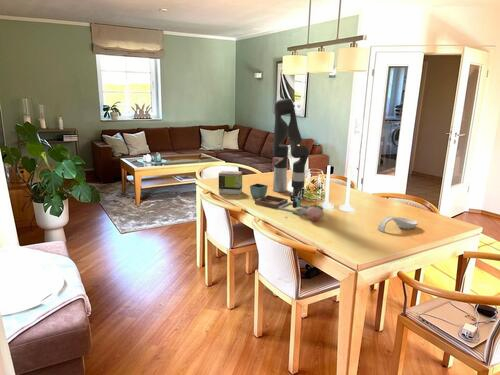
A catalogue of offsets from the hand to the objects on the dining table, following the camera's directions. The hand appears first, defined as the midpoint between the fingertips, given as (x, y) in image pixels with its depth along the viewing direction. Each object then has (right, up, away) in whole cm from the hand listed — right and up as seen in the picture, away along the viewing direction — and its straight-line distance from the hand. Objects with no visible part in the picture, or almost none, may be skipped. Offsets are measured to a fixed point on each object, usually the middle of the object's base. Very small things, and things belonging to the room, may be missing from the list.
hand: (296, 206), depth 223 cm
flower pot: (-23, +4, +23) cm, 33 cm away
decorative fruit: (+8, -7, -17) cm, 20 cm away
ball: (0, 0, 0) cm, 0 cm away
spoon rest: (+51, -11, -25) cm, 58 cm away
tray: (0, -2, +1) cm, 2 cm away
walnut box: (-15, +1, +11) cm, 18 cm away
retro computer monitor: (-42, +8, +36) cm, 56 cm away
